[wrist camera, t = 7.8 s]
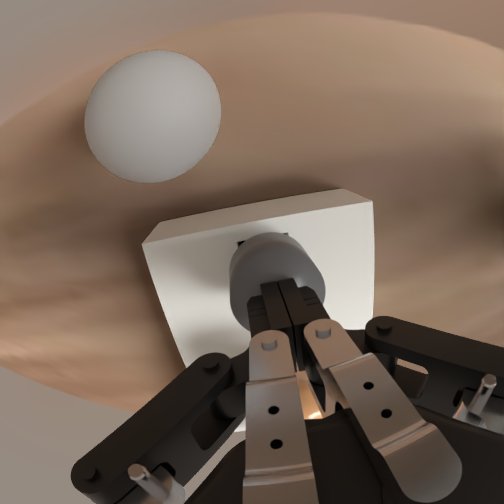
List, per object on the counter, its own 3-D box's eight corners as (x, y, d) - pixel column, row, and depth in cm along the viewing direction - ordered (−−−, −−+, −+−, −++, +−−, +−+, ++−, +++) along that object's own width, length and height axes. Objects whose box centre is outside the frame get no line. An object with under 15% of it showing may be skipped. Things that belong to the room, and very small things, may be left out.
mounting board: (342, 188, 21) (372, 201, 16) (347, 370, 28) (363, 403, 23) (159, 222, 21) (141, 244, 16) (217, 396, 28) (217, 433, 23)
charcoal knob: (285, 204, 20) (322, 244, 12) (292, 261, 22) (327, 326, 14) (223, 215, 20) (220, 263, 12) (235, 272, 22) (240, 344, 14)
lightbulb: (218, 171, 20) (208, 199, 10) (136, 167, 19) (54, 192, 9) (228, 88, 18) (230, 30, 8) (144, 86, 17) (71, 40, 7)
